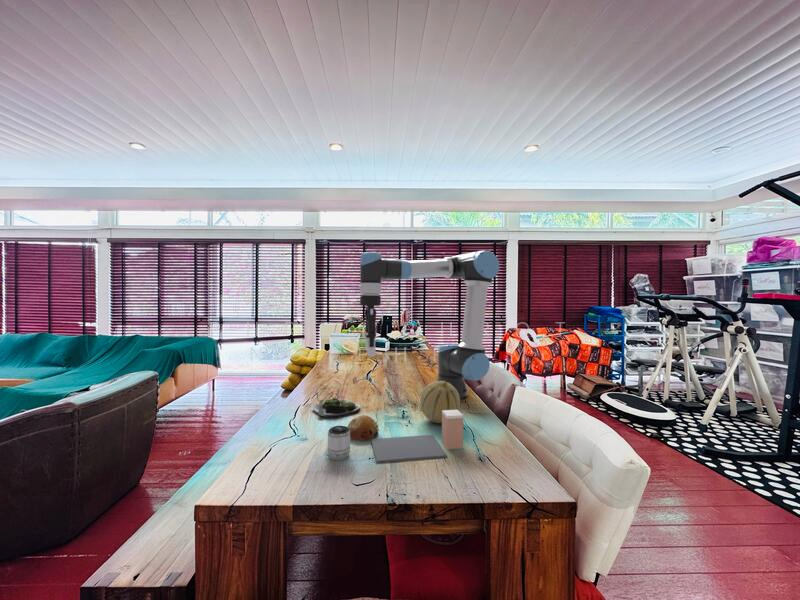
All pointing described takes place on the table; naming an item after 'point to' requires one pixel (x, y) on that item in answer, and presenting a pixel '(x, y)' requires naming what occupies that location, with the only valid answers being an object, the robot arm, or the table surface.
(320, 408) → the salad plate
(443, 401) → the cantaloupe
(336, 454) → the camera lens
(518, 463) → the table surface
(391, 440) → the mat
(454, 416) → the block
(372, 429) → the bread roll
